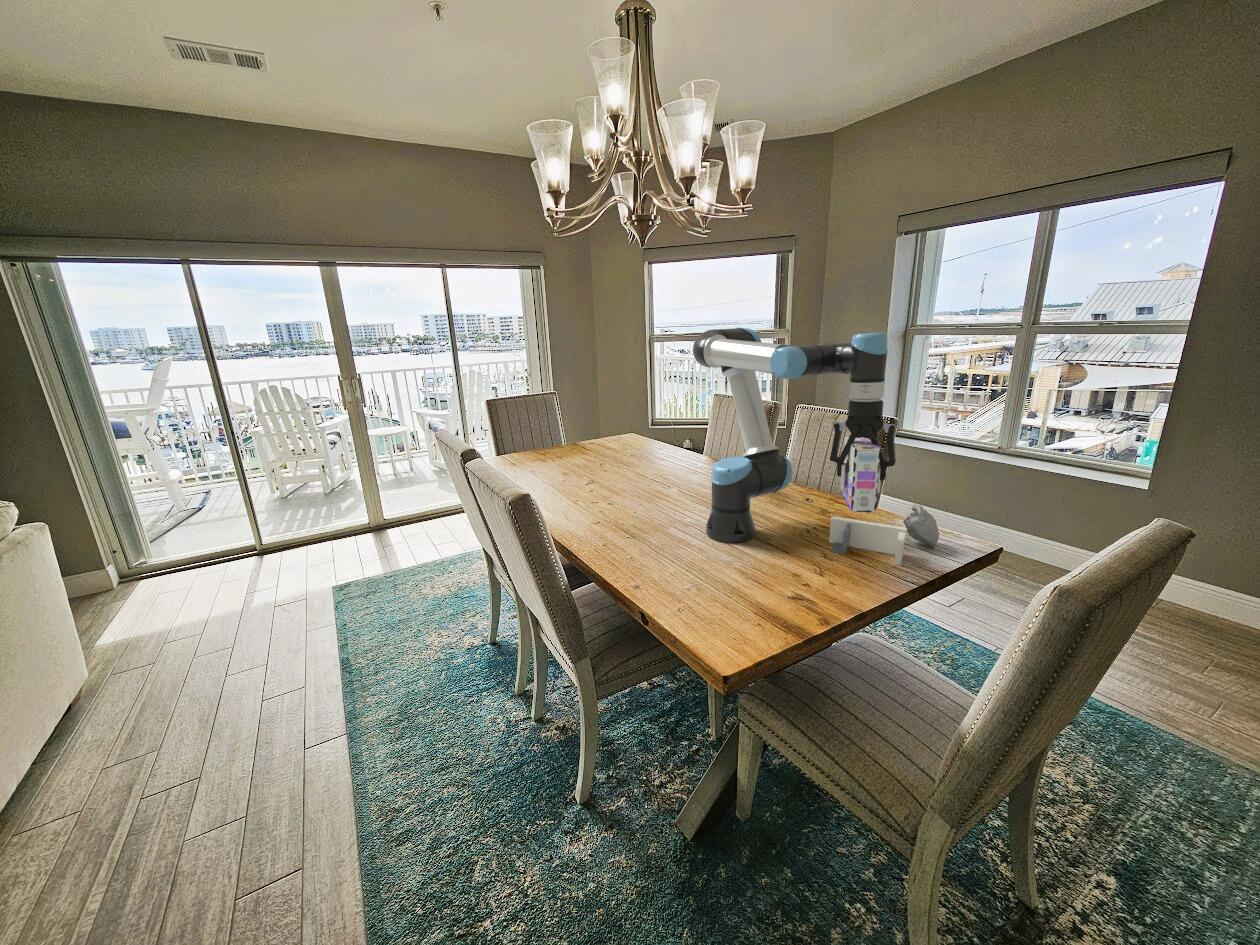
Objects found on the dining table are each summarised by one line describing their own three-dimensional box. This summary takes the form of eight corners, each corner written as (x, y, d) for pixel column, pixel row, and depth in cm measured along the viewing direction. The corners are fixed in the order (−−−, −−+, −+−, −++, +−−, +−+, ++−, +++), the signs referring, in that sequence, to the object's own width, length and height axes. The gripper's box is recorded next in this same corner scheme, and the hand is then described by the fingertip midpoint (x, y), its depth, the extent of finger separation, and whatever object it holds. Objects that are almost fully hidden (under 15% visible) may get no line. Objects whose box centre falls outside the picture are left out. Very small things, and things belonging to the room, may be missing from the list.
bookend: (830, 551, 135) (831, 528, 133) (834, 543, 140) (836, 521, 138) (845, 554, 133) (847, 531, 131) (849, 546, 138) (851, 523, 136)
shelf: (824, 550, 136) (826, 525, 134) (830, 540, 142) (832, 516, 140) (900, 565, 126) (904, 538, 124) (903, 554, 132) (906, 527, 130)
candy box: (876, 513, 116) (881, 447, 112) (850, 512, 118) (854, 447, 113) (865, 495, 129) (868, 435, 125) (841, 495, 131) (844, 436, 126)
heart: (915, 554, 131) (928, 513, 127) (891, 539, 139) (903, 501, 136) (946, 556, 132) (960, 516, 129) (921, 541, 141) (933, 503, 138)
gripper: (818, 400, 118) (814, 489, 124) (912, 402, 106) (903, 499, 112) (825, 397, 124) (822, 482, 130) (915, 398, 112) (907, 491, 118)
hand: (859, 490), depth 121 cm, fingers closed on candy box, 7 cm apart
